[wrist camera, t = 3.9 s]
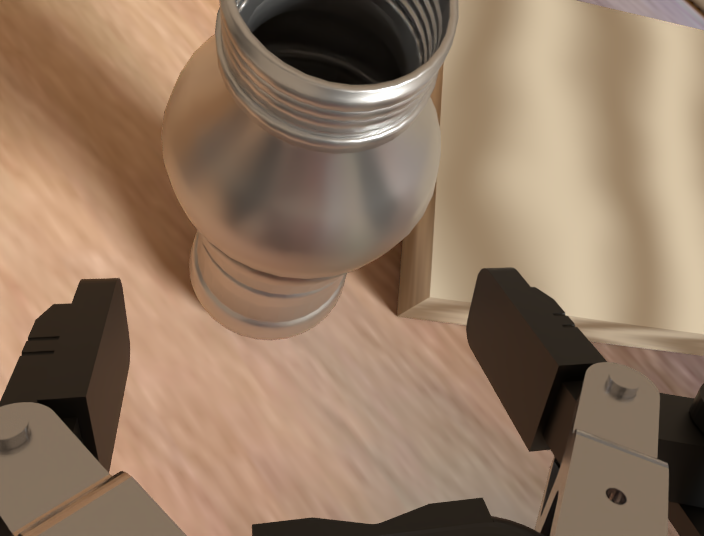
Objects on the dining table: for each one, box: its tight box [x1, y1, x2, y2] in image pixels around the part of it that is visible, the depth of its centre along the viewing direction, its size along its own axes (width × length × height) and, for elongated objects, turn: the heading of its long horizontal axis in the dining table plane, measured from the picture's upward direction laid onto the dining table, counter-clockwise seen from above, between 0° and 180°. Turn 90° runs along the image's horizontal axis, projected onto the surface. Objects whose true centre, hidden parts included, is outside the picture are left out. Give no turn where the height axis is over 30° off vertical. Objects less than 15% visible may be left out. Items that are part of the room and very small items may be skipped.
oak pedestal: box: [397, 0, 704, 356], centre depth 30 cm, size 17×16×5 cm
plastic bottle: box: [161, 0, 459, 340], centre depth 18 cm, size 6×7×20 cm
